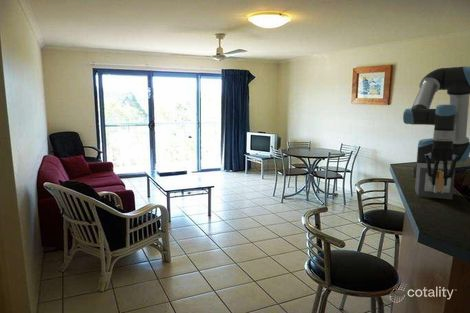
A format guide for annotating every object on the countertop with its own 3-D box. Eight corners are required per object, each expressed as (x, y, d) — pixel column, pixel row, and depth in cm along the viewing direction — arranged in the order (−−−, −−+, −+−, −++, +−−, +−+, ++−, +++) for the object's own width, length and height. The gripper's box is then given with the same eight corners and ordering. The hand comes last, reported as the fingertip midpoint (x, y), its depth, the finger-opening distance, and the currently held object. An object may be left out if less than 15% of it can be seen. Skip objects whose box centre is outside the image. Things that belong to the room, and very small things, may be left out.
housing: (414, 189, 174) (417, 162, 171) (446, 192, 168) (449, 164, 166) (418, 196, 161) (420, 167, 159) (452, 199, 155) (455, 169, 153)
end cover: (421, 184, 168) (422, 164, 166) (444, 186, 164) (446, 166, 162) (426, 194, 150) (428, 171, 149) (452, 196, 146) (454, 173, 145)
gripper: (424, 140, 147) (420, 192, 150) (465, 141, 141) (459, 196, 145) (422, 138, 154) (418, 188, 157) (461, 139, 148) (455, 191, 152)
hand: (438, 192), depth 151 cm, fingers closed on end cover, 2 cm apart
